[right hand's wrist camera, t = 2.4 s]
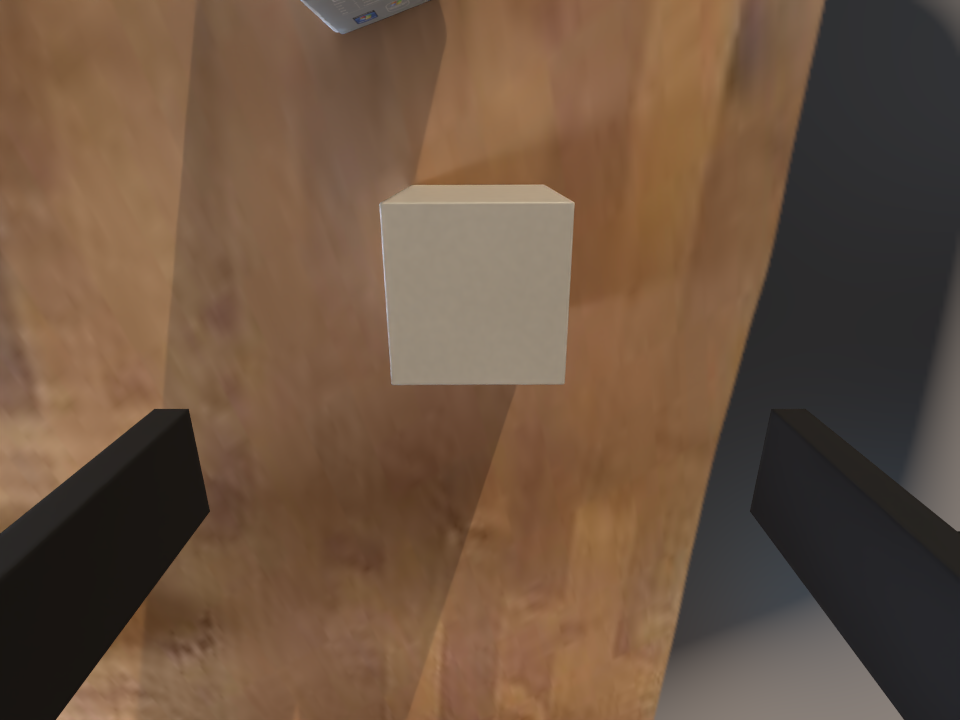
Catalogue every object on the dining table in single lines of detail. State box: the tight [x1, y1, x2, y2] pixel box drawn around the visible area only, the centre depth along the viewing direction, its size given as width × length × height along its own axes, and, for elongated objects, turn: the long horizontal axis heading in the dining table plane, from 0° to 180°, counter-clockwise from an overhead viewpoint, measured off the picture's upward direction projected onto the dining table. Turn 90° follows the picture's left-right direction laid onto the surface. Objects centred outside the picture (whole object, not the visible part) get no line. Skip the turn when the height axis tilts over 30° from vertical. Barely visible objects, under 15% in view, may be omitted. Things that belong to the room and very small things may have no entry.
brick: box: [379, 185, 575, 385], centre depth 31 cm, size 9×8×12 cm
